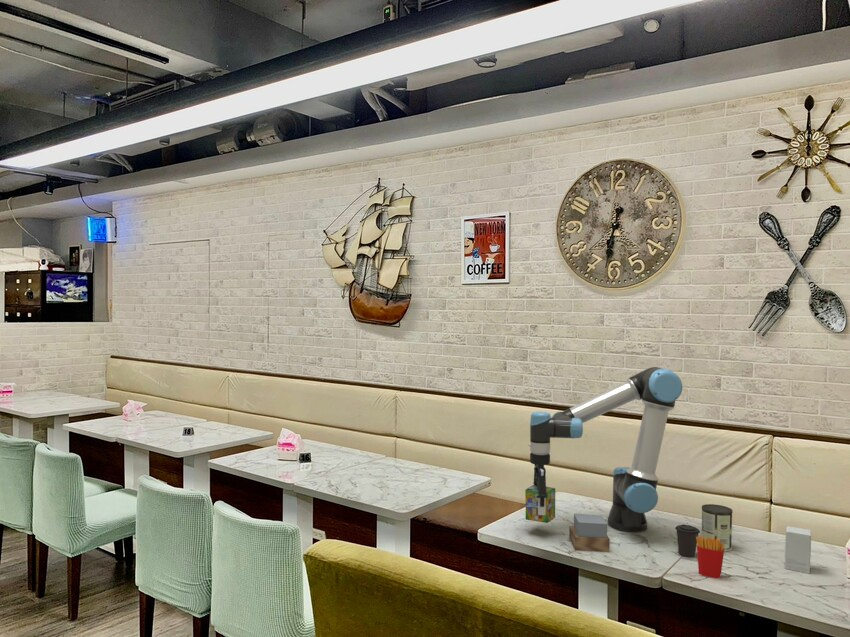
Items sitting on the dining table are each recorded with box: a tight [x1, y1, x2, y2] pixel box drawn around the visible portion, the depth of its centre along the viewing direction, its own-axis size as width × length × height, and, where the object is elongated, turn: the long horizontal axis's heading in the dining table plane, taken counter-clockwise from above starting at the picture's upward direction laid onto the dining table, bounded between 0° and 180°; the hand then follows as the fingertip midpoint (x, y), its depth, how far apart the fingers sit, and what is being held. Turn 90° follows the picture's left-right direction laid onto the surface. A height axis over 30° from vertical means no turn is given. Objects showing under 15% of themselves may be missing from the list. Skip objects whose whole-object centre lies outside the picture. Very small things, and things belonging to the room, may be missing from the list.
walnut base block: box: [568, 525, 611, 553], centre depth 226 cm, size 12×12×5 cm
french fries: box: [696, 535, 725, 579], centre depth 202 cm, size 8×4×12 cm, turn 59°
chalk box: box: [524, 481, 556, 524], centre depth 238 cm, size 9×9×15 cm
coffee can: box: [700, 503, 733, 553], centre depth 228 cm, size 10×10×14 cm
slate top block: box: [573, 513, 608, 538], centre depth 226 cm, size 10×10×5 cm
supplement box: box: [784, 525, 812, 574], centre depth 210 cm, size 7×7×13 cm
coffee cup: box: [674, 523, 701, 559], centre depth 219 cm, size 8×8×10 cm
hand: (539, 509), depth 238 cm, fingers closed on chalk box, 12 cm apart
